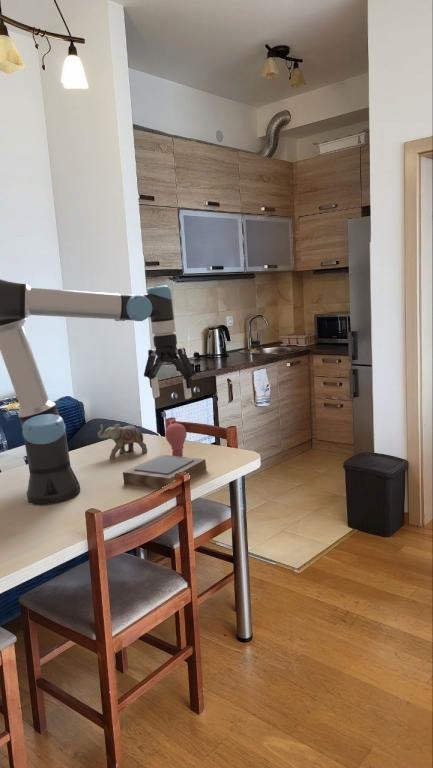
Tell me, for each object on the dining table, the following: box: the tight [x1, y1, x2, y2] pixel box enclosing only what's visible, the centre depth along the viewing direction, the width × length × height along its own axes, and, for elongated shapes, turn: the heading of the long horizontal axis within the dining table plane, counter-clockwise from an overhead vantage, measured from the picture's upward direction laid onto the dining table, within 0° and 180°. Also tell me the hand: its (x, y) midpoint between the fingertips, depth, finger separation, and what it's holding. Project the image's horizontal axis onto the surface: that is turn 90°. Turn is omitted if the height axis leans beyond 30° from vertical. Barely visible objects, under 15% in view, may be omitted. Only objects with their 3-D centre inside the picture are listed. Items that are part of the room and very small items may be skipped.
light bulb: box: [164, 422, 188, 457], centre depth 193 cm, size 7×7×12 cm
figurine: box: [97, 423, 148, 460], centre depth 205 cm, size 10×14×15 cm, turn 87°
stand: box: [122, 454, 207, 490], centre depth 176 cm, size 18×18×4 cm
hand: (172, 397), depth 191 cm, fingers open, 13 cm apart
